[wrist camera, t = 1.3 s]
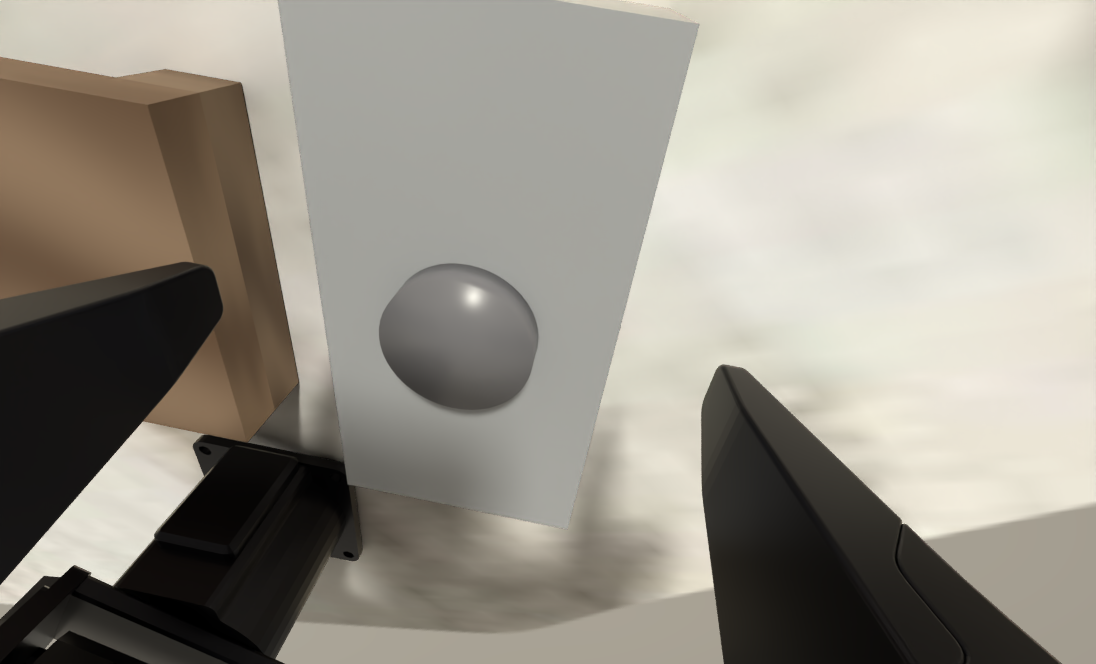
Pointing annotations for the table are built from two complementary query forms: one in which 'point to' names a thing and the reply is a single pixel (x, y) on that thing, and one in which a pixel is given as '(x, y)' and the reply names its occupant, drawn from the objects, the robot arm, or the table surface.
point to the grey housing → (478, 228)
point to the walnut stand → (148, 217)
